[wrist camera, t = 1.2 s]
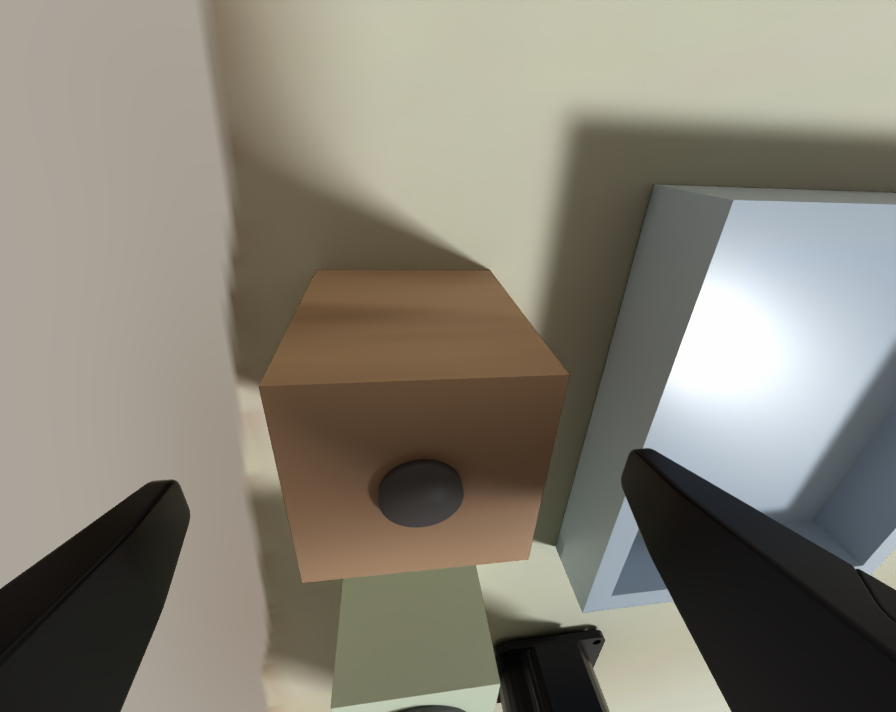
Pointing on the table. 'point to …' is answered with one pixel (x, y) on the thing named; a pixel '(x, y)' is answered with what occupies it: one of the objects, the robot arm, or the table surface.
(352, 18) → the table surface
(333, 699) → the sage block
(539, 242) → the table surface
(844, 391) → the tray
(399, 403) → the walnut block
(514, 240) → the table surface
